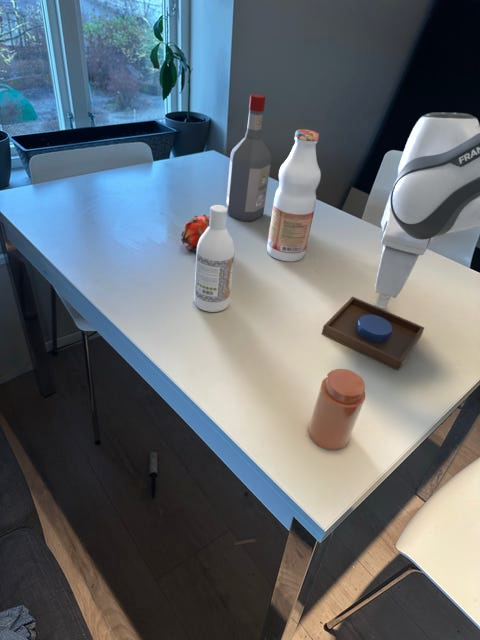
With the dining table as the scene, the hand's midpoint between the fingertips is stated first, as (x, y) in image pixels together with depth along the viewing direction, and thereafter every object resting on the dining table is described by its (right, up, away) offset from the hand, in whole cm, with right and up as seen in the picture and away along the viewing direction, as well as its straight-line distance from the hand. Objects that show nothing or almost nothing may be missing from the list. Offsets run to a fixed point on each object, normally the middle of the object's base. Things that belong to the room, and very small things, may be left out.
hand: (385, 292), depth 80 cm
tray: (-1, -8, +6) cm, 10 cm away
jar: (-13, -22, -14) cm, 29 cm away
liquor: (-25, +24, +45) cm, 57 cm away
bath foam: (-32, -2, +9) cm, 33 cm away
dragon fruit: (-35, +12, +27) cm, 46 cm away
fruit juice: (-15, +11, +29) cm, 35 cm away
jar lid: (0, -6, +5) cm, 8 cm away
